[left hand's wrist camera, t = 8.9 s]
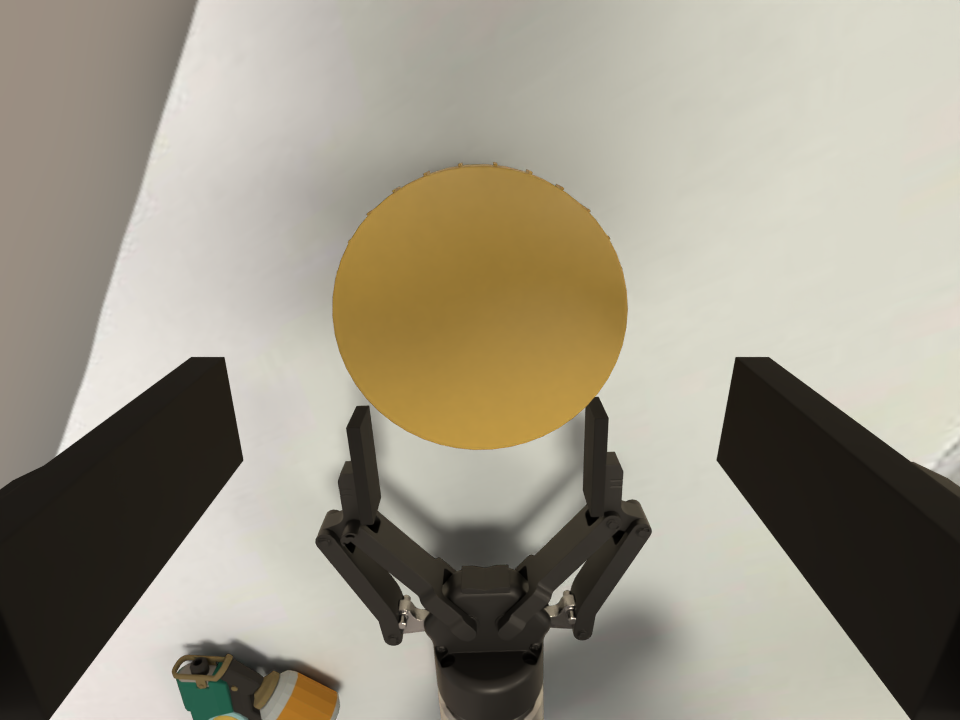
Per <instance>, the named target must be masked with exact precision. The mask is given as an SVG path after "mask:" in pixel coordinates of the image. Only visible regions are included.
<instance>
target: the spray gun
mask: <svg viewBox="0 0 960 720" xmlns="http://www.w3.org/2000/svg"><path fill="white" fill-rule="evenodd" d="M232 658H233V656H232V655H230V654H227V655H226V656H225V657H218V656H201V655H184V656H182V657H181V658H179V660H178V661H177V662H176V664H175V665H174V667H173V669H172V674H173V677H174V678H176V681H177V684H178V687H179V690H180V693H181V696H182V700H183V703H184V706H185V709H186V710H187V711H191V714H192V717H193V720H336V718H337V715H338V713H339V708H340V701H339V696H338V693H337V692H336V691H334V690H332V689H330V688H328V687H326V686H324V685H322V684H320V683H318V682H316V681H314V680H312V679H310V678H308V677H306V676H304V675H302V674H300V673H298V672H296V671H291V670H287V671H285V672H282V673H280V674H279V673H278V672H276V671H272V672H271V673H270V674H269V675H267V676H265V677H262V676H261V675H260V674H258V673H257V672H255V671H254V670H252V669H250V668H249V667H247V666H245V665H244V664H242V663H240V662H239V661H237V660H235V659H232ZM187 660H193V662H192V663H191V664H187V665H185V666H184V667H182V668H181V669H180V670H179V671H178V672H177V670H178V669H179V667H180V665H181V664H182V663H183V662H185V661H187ZM216 662H219V663H218V665H216ZM222 662H223V663H222Z"/></svg>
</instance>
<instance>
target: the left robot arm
mask: <svg viewBox="0 0 960 720" xmlns="http://www.w3.org/2000/svg"><path fill="white" fill-rule="evenodd" d="M242 462H243V455H242V450H241V444H240V439H239V434H238V428H237V423H236V417H235V412H234V406H233V401H232V396H231V390H230V385H229V379H228V374H227V368H226V363H225V358H224V357H191V358H189V359H188V360H187V361H185V362H184V363H183V364H181V365H180V366H178V367H177V368H176V369H174V370H173V371H172V372H170V373H169V374H168V375H166V376H165V377H164V378H162V379H161V380H159V381H158V382H157V383H155V384H154V385H153V386H151V387H150V388H149V389H147V390H146V391H145V392H143V393H142V394H140V395H139V396H138V397H136V398H135V399H134V400H132V401H131V402H130V403H128V404H127V405H126V406H124V407H123V408H121V409H120V410H119V411H117V412H116V413H115V414H113V415H112V416H111V417H109V418H108V419H107V420H105V421H104V422H102V423H101V424H100V425H98V426H97V427H96V428H94V429H93V430H92V431H90V432H89V433H88V434H86V435H85V436H83V437H82V438H81V439H79V440H78V441H77V442H75V443H74V444H73V445H71V446H70V447H69V448H67V449H66V450H64V451H63V452H62V453H60V454H59V455H58V456H56V457H55V458H54V459H52V460H51V461H50V462H48V463H47V464H45V465H44V466H42V467H40V468H38V469H36V470H34V471H32V472H30V473H27V474H25V475H23V476H21V477H19V478H17V479H15V480H13V481H12V482H10V483H9V484H7V485H6V486H5V487H3V488H2V489H0V720H49V719H50V718H51V717H52V715H53V714H54V713H55V711H56V710H57V709H58V707H59V706H60V705H61V703H62V702H63V701H64V699H65V698H66V697H67V695H68V694H69V693H70V691H71V690H72V689H73V687H74V686H75V685H76V683H77V682H78V681H79V679H80V678H81V677H82V675H83V674H84V673H85V671H86V670H87V668H88V667H89V666H90V664H91V663H92V662H93V660H94V659H95V658H96V656H97V655H98V654H99V652H100V651H101V650H102V648H103V647H104V646H105V644H106V643H107V642H108V640H109V639H110V638H111V636H112V635H113V634H114V632H115V631H116V630H117V628H118V627H119V626H120V624H121V623H122V622H123V620H124V619H125V618H126V616H127V615H128V614H129V612H130V611H131V610H132V608H133V607H134V606H135V604H136V603H137V602H138V600H139V599H140V598H141V596H142V595H143V594H144V592H145V591H146V590H147V588H148V587H149V586H150V584H151V583H152V582H153V580H154V579H155V578H156V576H157V575H158V574H159V572H160V571H161V570H162V568H163V567H164V566H165V564H166V563H167V562H168V560H169V559H170V558H171V556H172V555H173V554H174V552H175V551H176V550H177V548H178V547H179V546H180V544H181V543H182V542H183V540H184V539H185V538H186V536H187V535H188V534H189V532H190V531H191V530H192V528H193V527H194V526H195V524H196V523H197V522H198V520H199V519H200V518H201V516H202V515H203V514H204V512H205V511H206V510H207V508H208V507H209V506H210V504H211V503H212V502H213V500H214V499H215V498H216V496H217V495H218V494H219V492H220V491H221V490H222V488H223V487H224V486H225V484H226V483H227V482H228V480H229V479H230V478H231V476H232V475H233V474H234V472H235V471H236V470H237V468H238V467H239V466H240V464H241V463H242ZM717 462H718V463H719V464H720V466H721V467H722V468H723V470H724V471H725V472H726V474H727V475H728V476H729V478H730V479H731V480H732V482H733V483H734V484H735V486H736V487H737V488H738V490H739V491H740V492H741V494H742V495H743V496H744V498H745V499H746V500H747V502H748V503H749V504H750V506H751V507H752V508H753V510H754V511H755V512H756V514H757V515H758V516H759V518H760V519H761V520H762V522H763V523H764V524H765V526H766V527H767V528H768V530H769V531H770V532H771V534H772V535H773V536H774V538H775V539H776V540H777V542H778V543H779V544H780V546H781V547H782V548H783V550H784V551H785V552H786V554H787V555H788V556H789V558H790V559H791V560H792V562H793V563H794V564H795V566H796V567H797V568H798V570H799V571H800V572H801V574H802V575H803V576H804V578H805V579H806V580H807V582H808V583H809V584H810V586H811V587H812V588H813V590H814V591H815V592H816V594H817V595H818V596H819V598H820V599H821V600H822V602H823V603H824V604H825V606H826V607H827V608H828V610H829V611H830V612H831V614H832V615H833V616H834V618H835V619H836V620H837V622H838V623H839V624H840V626H841V627H842V628H843V630H844V631H845V632H846V634H847V635H848V636H849V638H850V639H851V640H852V642H853V643H854V644H855V646H856V647H857V648H858V650H859V651H860V652H861V654H862V655H863V656H864V658H865V659H866V660H867V662H868V663H869V664H870V666H871V667H872V668H873V670H874V671H875V673H876V674H877V675H878V677H879V678H880V679H881V681H882V682H883V683H884V685H885V686H886V687H887V689H888V690H889V691H890V693H891V694H892V695H893V697H894V698H895V699H896V701H897V702H898V703H899V705H900V706H901V707H902V709H903V710H904V711H905V713H906V714H907V715H908V717H909V718H910V719H911V720H960V487H959V486H958V485H956V484H955V483H954V482H952V481H951V480H949V479H948V478H946V477H944V476H942V475H940V474H938V473H935V472H933V471H931V470H929V469H927V468H925V467H923V466H921V465H919V464H917V463H914V462H910V461H909V460H908V459H906V458H905V457H904V456H902V455H901V454H900V453H898V452H897V451H896V450H894V449H893V448H891V447H890V446H889V445H887V444H886V443H885V442H883V441H882V440H881V439H879V438H878V437H877V436H875V435H874V434H872V433H871V432H870V431H868V430H867V429H866V428H864V427H863V426H862V425H860V424H859V423H858V422H856V421H855V420H853V419H852V418H851V417H849V416H848V415H847V414H845V413H844V412H843V411H841V410H840V409H839V408H837V407H836V406H834V405H833V404H832V403H830V402H829V401H828V400H826V399H825V398H824V397H822V396H821V395H820V394H818V393H817V392H815V391H814V390H813V389H811V388H810V387H809V386H807V385H806V384H805V383H803V382H802V381H801V380H799V379H798V378H796V377H795V376H794V375H792V374H791V373H790V372H788V371H787V370H786V369H784V368H783V367H782V366H780V365H779V364H777V363H776V362H775V361H773V360H772V359H771V358H769V357H736V358H735V363H734V368H733V374H732V379H731V385H730V390H729V396H728V401H727V406H726V412H725V417H724V423H723V428H722V434H721V439H720V444H719V450H718V455H717Z"/></svg>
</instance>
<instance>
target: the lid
mask: <svg viewBox="0 0 960 720" xmlns="http://www.w3.org/2000/svg"><path fill="white" fill-rule="evenodd" d="M532 173H533V172H531V171H529V170H526V172H525V171H521V170H518V169H514V168H510V167H506V166H498V165H497V163H496V162H493V165H489V164H474V165H463V164H462V163H459V164H458V166H456V167H450V168H445V169H442V170H439V171H436V172H433V173H430V171H428V172H426V173H424V174H423V175H424V176H423V177H421V178H419V179H417V180H415V181H412V182H411V183H409V184H407V185H405V186H404V187H402V188H401V187H398V188H396V189H394V190H393V191H392V192H393V194H391V195H390V196H388V197H387V198H386V199H385V200H384V201H383V202H381V203H380V204H379V205H378V206H377V207H376V208H375V209H373V210H371V211H370V212H368V213H367V217H366V219H365V220H364V221H363V222H362V223H361V225H360V226H359V227H358V229H357V230H356V232H355V234H354V235H353V237H352V238H351V239H350V240H349V241H348V245H347V248H346V250H345V252H344V254H343V256H342V259H341V261H340V265H339V268H338V271H337V275H336V278H335V285H334V292H333V324H334V331H335V337H336V340H337V344H338V348H339V352H340V354H341V356H342V359H343V361H344V364H345V366H346V369H347V370H348V372H349V374H350V375H351V377H352V379H353V381H354V382H355V384H356V386H357V387H358V388H359V389H360V391H361V392H362V393H363V395H364V396H365V397H366V399H367V400H368V401H369V402H370V403H371V404H372V405H373V406H374V407H375V408H376V409H377V410H378V411H379V412H380V413H382V414H383V415H384V416H385V417H387V418H388V419H389V420H390V421H392V422H393V423H395V424H396V425H398V426H399V427H401V428H403V429H404V430H406V431H407V432H410V433H412V434H414V435H416V436H418V437H420V438H422V439H425V440H428V441H431V442H434V443H437V444H440V445H445V446H450V447H454V448H462V449H472V450H484V449H498V448H505V447H511V446H515V445H519V444H523V443H527V442H529V441H532V440H535V439H537V438H540V437H542V436H544V435H546V434H548V433H550V432H552V431H554V430H556V429H558V428H559V427H561V426H562V425H564V424H565V423H567V422H568V421H570V420H571V419H572V418H574V417H575V416H576V415H577V414H578V413H579V412H581V411H582V410H583V409H584V408H585V407H586V406H587V405H588V404H589V403H590V402H591V401H592V399H593V398H594V397H595V396H596V395H597V394H598V392H599V391H600V390H601V388H602V387H603V385H604V384H605V382H606V381H607V379H608V378H609V376H610V374H611V372H612V370H613V368H614V366H615V364H616V362H617V359H618V356H619V354H620V351H621V348H622V345H623V340H624V336H625V331H626V325H627V312H628V306H627V290H626V285H625V280H624V275H623V271H622V267H621V265H620V262H619V259H618V256H617V254H616V252H615V250H614V248H613V246H612V244H611V242H610V237H609V236H608V235H606V233H605V232H604V231H603V229H602V228H601V226H600V225H599V223H598V222H597V221H596V219H595V218H594V217H593V216H592V215H591V214H590V213H589V212H590V210H589V209H588V208H586V207H584V206H583V205H581V204H580V203H579V202H577V201H576V200H575V199H574V198H572V197H571V196H570V195H569V194H567V193H566V192H564V191H563V190H564V188H563V187H561V186H559V185H557V184H556V186H554V185H553V184H551V183H549V182H547V181H546V180H544V179H542V178H539V177H537V176H535V175H532Z"/></svg>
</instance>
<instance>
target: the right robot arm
mask: <svg viewBox="0 0 960 720" xmlns="http://www.w3.org/2000/svg"><path fill="white" fill-rule="evenodd" d="M608 419H609V418H608V416H607V414H606V412H605V410H604V407H603V405H602V403H601V401H600V399H599V397H594V398H593V399H592V401H591V402H590V403H589V404H588V405H587V406H586V408H585V440H584V472H583V492H584V495H585V499H586V502H587V505H586V506H585V507H584V508H583V509H582V510H581V511H580V512H579V513H578V514H577V515H576V516H575V517H574V518H573V519H572V520H571V521H570V522H569V523H567V524H566V525H565V526H564V527H563V528H562V529H561V530H560V531H559V532H558V533H557V534H556V535H555V536H554V537H553V538H552V539H551V540H550V541H549V542H548V543H547V544H546V545H545V546H544V547H543V548H542V549H541V550H540V551H539V552H538V553H537V554H536V555H534V556H533V555H529V556H528V557H527V558H526V559H525V560H524V561H523V562H522V563H521V564H520V565H519V566H518V567H517V568H516V569H515V570H513V569H510V568H508V565H495V566H491V567H487V568H483V567H477V566H462V570H459V571H455V570H454V569H453V568H452V567H451V566H450V565H448V564H447V563H446V562H445V561H444V560H442V559H441V558H437V559H435V558H433V557H432V556H431V555H430V554H428V553H427V552H426V551H425V550H424V549H422V548H421V547H420V546H419V545H418V544H417V543H415V542H414V541H413V540H412V539H411V538H409V537H408V536H407V535H406V534H405V533H403V532H402V531H401V530H400V529H399V528H397V527H396V526H395V525H394V524H393V523H391V522H390V521H389V520H388V519H387V518H385V517H384V516H383V515H382V514H381V513H379V512H378V511H377V510H378V506H379V503H380V499H381V493H380V485H379V478H378V470H377V462H376V455H375V447H374V439H373V431H372V424H371V416H370V408H369V406H356V408H355V411H354V413H353V415H352V417H351V419H350V421H349V423H348V425H347V427H346V430H347V436H348V443H349V450H350V457H351V461H346V462H345V464H344V466H343V469H342V471H341V473H340V476H339V480H338V485H339V491H340V497H341V504H342V511H338V510H330V511H329V512H327V514H326V516H325V519H324V521H323V523H322V526H321V528H320V531H319V533H318V536H317V538H316V545H317V547H318V548H319V549H320V550H321V552H322V553H323V554H324V555H325V556H326V558H327V559H328V560H329V561H330V563H331V564H332V565H333V566H334V567H335V569H336V570H337V571H338V572H339V574H340V575H341V576H342V577H343V578H344V580H345V581H346V582H347V583H348V584H349V586H350V587H351V588H352V589H353V591H354V592H355V593H356V594H357V595H358V597H359V598H360V599H361V600H362V601H363V603H364V604H365V605H366V606H367V608H368V609H369V610H370V611H371V612H372V614H373V615H374V616H375V617H376V619H377V620H378V621H379V624H380V627H381V631H382V634H383V637H384V640H385V642H386V643H387V644H389V645H392V646H395V645H399V644H400V643H401V642H402V638H403V634H404V633H413V632H421V631H425V632H426V634H427V635H428V636H429V637H430V638H431V640H432V642H433V645H434V655H435V665H436V675H437V684H438V696H439V705H440V713H441V720H544V718H543V639H544V636H545V635H546V633H547V632H548V631H549V629H550V628H567V629H573V634H574V637H575V638H576V639H578V640H586V639H588V638H590V637H591V635H592V631H593V626H594V621H595V616H596V613H597V612H598V611H599V609H600V608H601V606H602V605H603V603H604V602H605V600H606V599H607V598H608V596H609V595H610V593H611V592H612V590H613V589H614V587H615V586H616V585H617V583H618V582H619V580H620V579H621V577H622V576H623V574H624V573H625V571H626V570H627V569H628V567H629V566H630V564H631V563H632V561H633V560H634V558H635V557H636V556H637V554H638V553H639V551H640V550H641V548H642V547H643V545H644V544H645V543H646V541H647V540H648V538H649V537H650V535H651V533H652V530H651V527H650V525H649V522H648V520H647V518H646V516H645V513H644V511H643V509H642V507H641V505H640V503H639V502H638V501H637V500H628V501H626V502H625V501H622V484H623V470H622V468H621V465H620V463H619V461H618V458H617V456H616V454H615V452H607V440H608ZM585 561H586V562H585ZM584 562H585V564H584V565H583V567H582V568H581V570H580V571H579V573H578V574H577V576H576V578H575V579H574V581H573V584H572V587H571V591H569V590H566V591H564V592H563V597H562V598H561V599H560V601H559V603H558V604H556V605H553V606H549V605H548V602H549V601H550V599H551V596H552V593H553V591H554V590H555V589H556V588H557V587H558V586H559V585H561V584H562V583H563V582H564V581H565V580H566V579H567V578H568V577H569V576H570V575H571V574H572V573H573V572H574V571H575V570H577V569H578V568H579V567H580V566H581V565H582V564H583V563H584ZM390 574H392V575H393V576H394V577H395V578H397V579H398V580H399V581H400V582H402V583H403V584H404V585H405V586H407V587H408V588H409V589H410V590H412V591H413V592H414V593H415V594H417V595H418V596H419V598H420V601H421V604H422V605H423V606H424V608H426V609H418V608H416V607H415V606H414V604H413V603H412V602H411V597H410V596H409V595H404V596H403V594H402V591H401V589H400V587H399V585H398V584H397V583H396V581H395V580H394V579H393V577H392V576H391V575H390Z"/></svg>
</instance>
